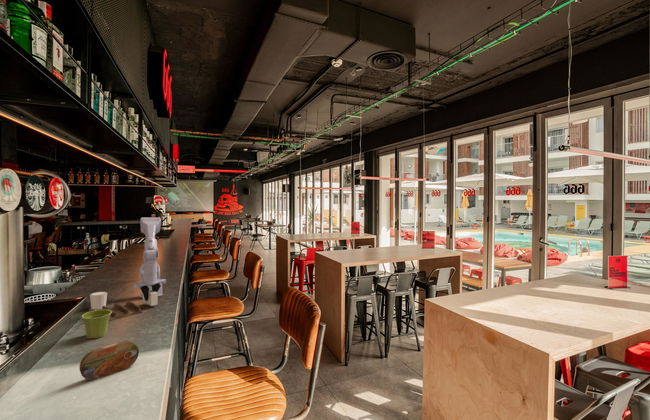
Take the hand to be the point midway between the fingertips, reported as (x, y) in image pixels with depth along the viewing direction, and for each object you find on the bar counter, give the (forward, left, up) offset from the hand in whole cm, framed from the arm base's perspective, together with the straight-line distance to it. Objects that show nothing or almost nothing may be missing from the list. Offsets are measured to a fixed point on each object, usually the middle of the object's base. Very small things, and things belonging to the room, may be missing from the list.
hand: (150, 299), depth 154 cm
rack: (+16, 0, -3) cm, 16 cm away
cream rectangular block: (0, 0, -2) cm, 2 cm away
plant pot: (+29, +20, -3) cm, 35 cm away
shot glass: (+17, -16, -3) cm, 23 cm away
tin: (+36, +53, -3) cm, 64 cm away
